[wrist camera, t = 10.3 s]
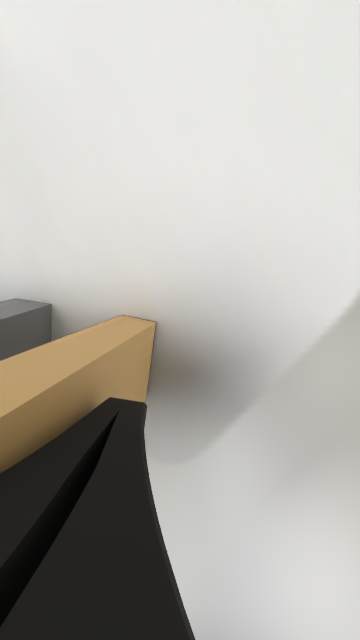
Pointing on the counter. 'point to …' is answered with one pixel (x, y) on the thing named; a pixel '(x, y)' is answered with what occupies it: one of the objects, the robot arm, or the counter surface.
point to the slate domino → (23, 326)
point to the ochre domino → (70, 382)
